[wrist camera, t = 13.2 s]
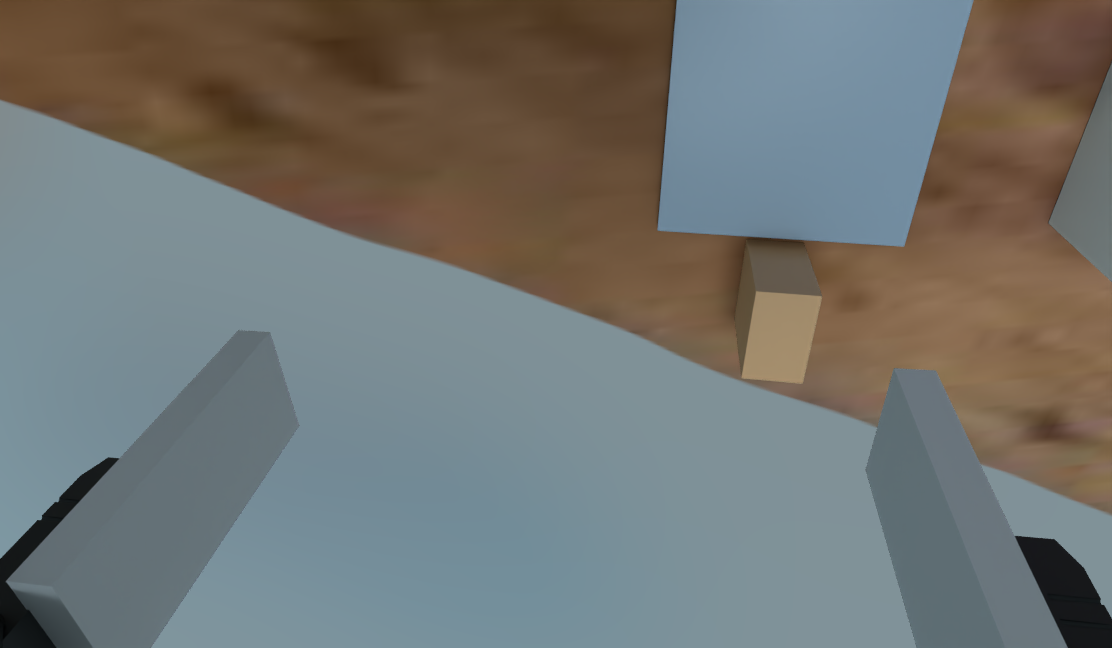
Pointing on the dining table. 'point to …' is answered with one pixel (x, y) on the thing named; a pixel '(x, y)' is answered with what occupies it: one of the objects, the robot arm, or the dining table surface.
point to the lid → (801, 142)
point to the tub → (1090, 188)
